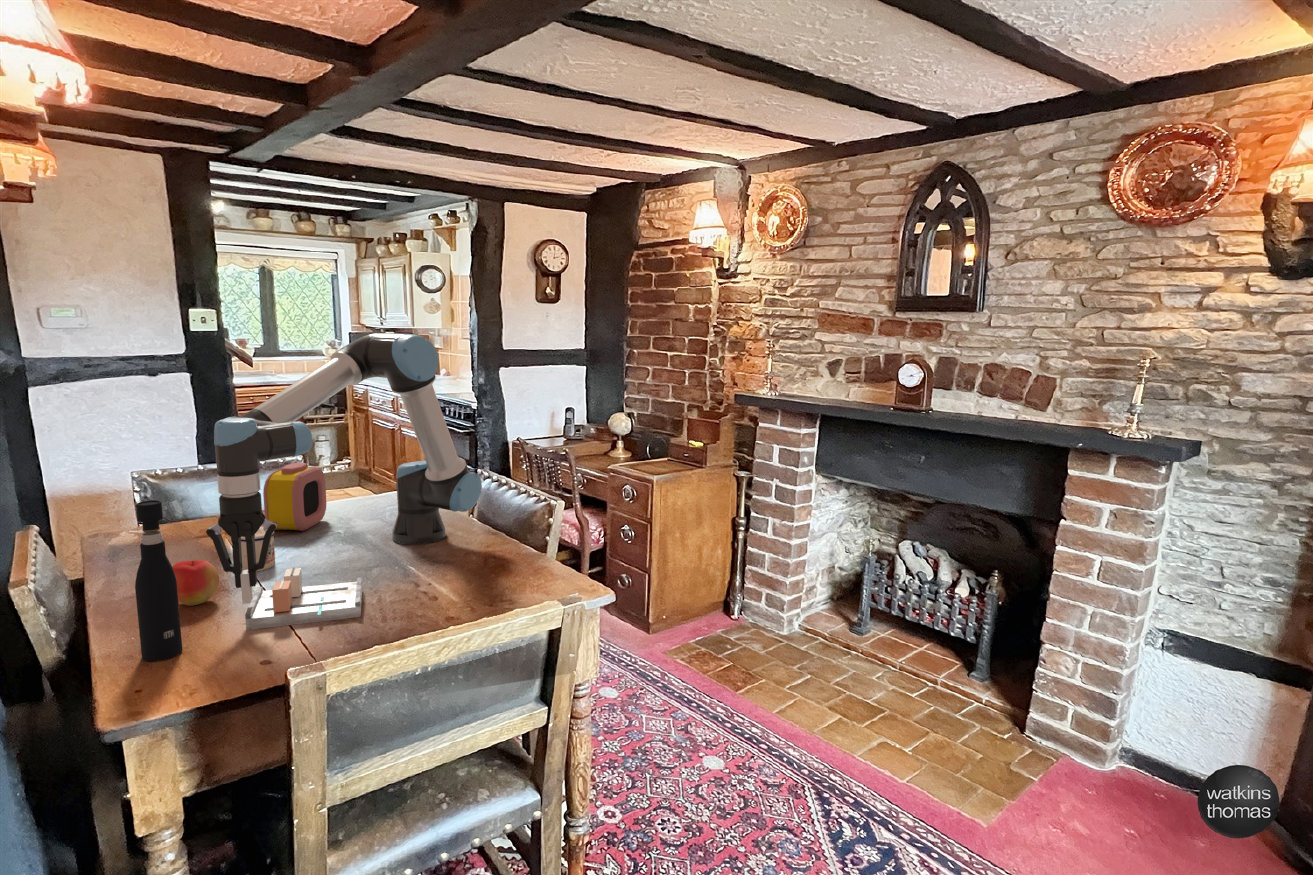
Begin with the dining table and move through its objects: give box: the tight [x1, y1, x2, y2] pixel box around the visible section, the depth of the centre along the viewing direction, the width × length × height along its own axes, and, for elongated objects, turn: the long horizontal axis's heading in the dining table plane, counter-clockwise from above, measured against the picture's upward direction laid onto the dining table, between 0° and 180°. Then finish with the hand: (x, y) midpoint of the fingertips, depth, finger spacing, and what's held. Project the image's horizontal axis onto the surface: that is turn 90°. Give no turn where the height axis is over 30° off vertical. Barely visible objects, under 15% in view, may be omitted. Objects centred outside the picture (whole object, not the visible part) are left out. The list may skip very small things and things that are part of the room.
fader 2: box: [283, 567, 303, 597], centre depth 159 cm, size 3×5×5 cm, turn 21°
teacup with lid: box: [241, 526, 276, 572], centre depth 183 cm, size 12×9×12 cm
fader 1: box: [271, 579, 292, 612], centre depth 151 cm, size 3×5×5 cm, turn 21°
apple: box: [172, 559, 220, 607], centre depth 157 cm, size 10×10×10 cm
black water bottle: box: [134, 499, 183, 663], centre depth 132 cm, size 6×6×30 cm
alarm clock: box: [262, 462, 327, 532], centre depth 216 cm, size 18×11×19 cm, turn 179°
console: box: [244, 577, 363, 631], centre depth 157 cm, size 22×20×3 cm
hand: (247, 600), depth 148 cm, fingers closed
